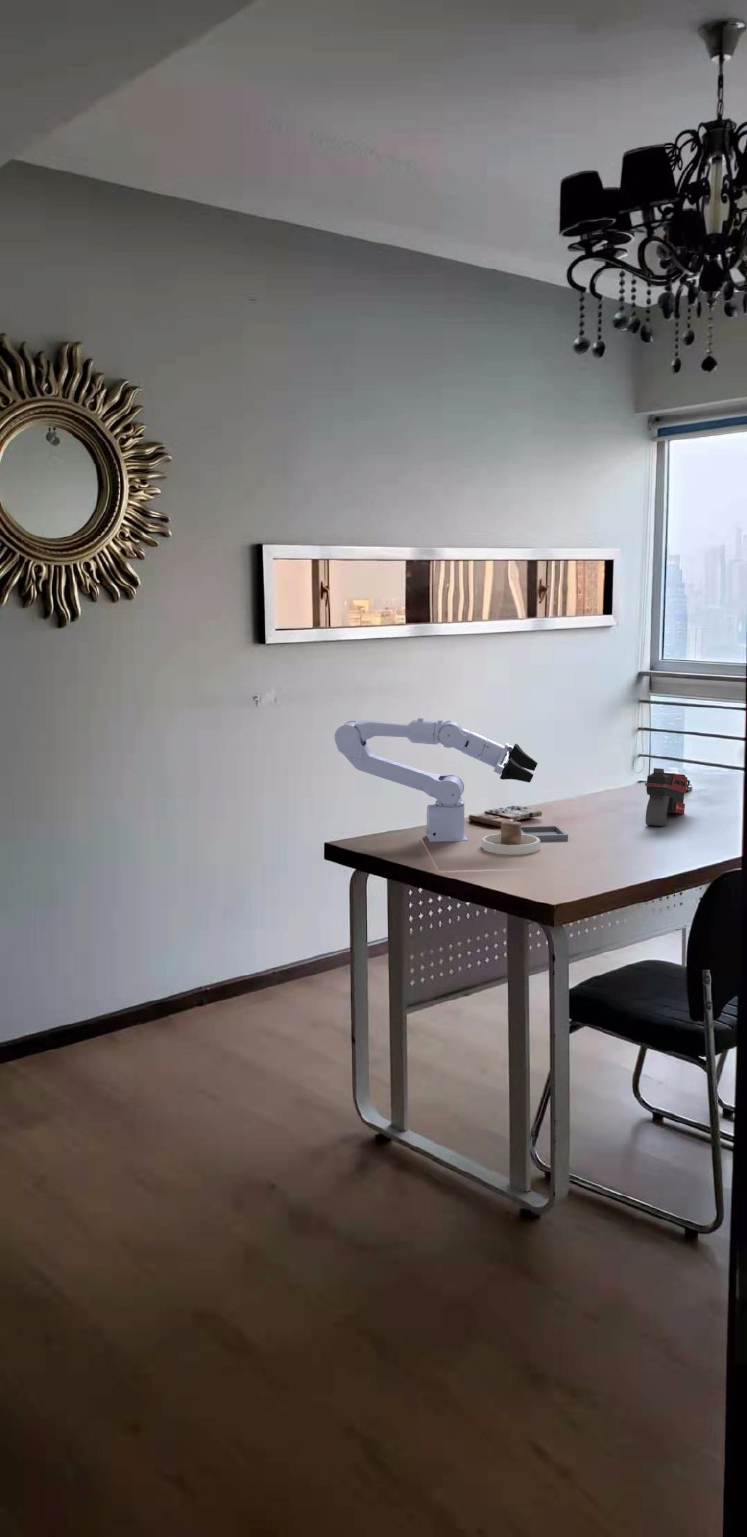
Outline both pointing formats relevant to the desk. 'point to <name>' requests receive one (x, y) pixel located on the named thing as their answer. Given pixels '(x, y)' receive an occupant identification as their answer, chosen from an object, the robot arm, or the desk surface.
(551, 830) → the tray
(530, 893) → the desk surface
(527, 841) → the bowl
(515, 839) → the cylinder
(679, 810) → the toy gun
